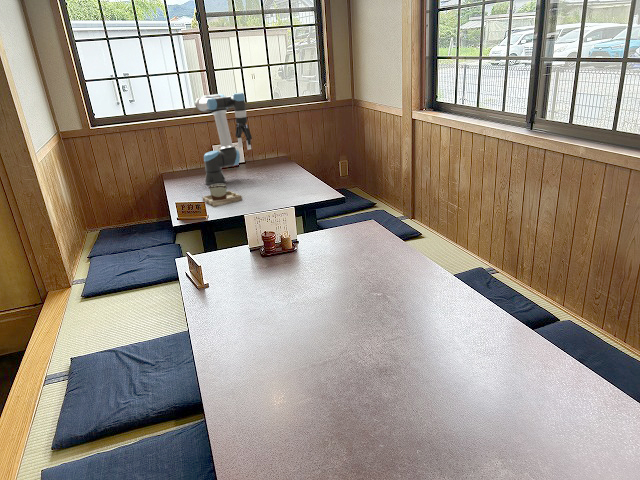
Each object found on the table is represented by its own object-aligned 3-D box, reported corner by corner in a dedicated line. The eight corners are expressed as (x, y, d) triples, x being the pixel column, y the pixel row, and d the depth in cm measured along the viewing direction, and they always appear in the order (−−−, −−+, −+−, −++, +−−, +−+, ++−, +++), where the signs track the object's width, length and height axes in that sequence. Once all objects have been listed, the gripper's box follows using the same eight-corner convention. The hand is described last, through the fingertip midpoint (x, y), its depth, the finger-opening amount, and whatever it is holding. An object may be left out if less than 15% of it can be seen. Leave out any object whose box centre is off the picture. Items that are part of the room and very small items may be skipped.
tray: (202, 201, 319) (202, 196, 318) (230, 194, 329) (229, 190, 328) (213, 206, 305) (212, 202, 304) (242, 200, 315) (241, 195, 314)
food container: (230, 197, 320) (228, 182, 316) (228, 199, 314) (226, 185, 311) (212, 198, 321) (210, 183, 317) (210, 200, 315) (208, 185, 312)
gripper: (254, 117, 315) (258, 149, 323) (238, 115, 335) (241, 145, 342) (244, 118, 311) (248, 151, 319) (228, 116, 331) (232, 147, 339)
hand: (245, 148), depth 331 cm, fingers open, 13 cm apart
